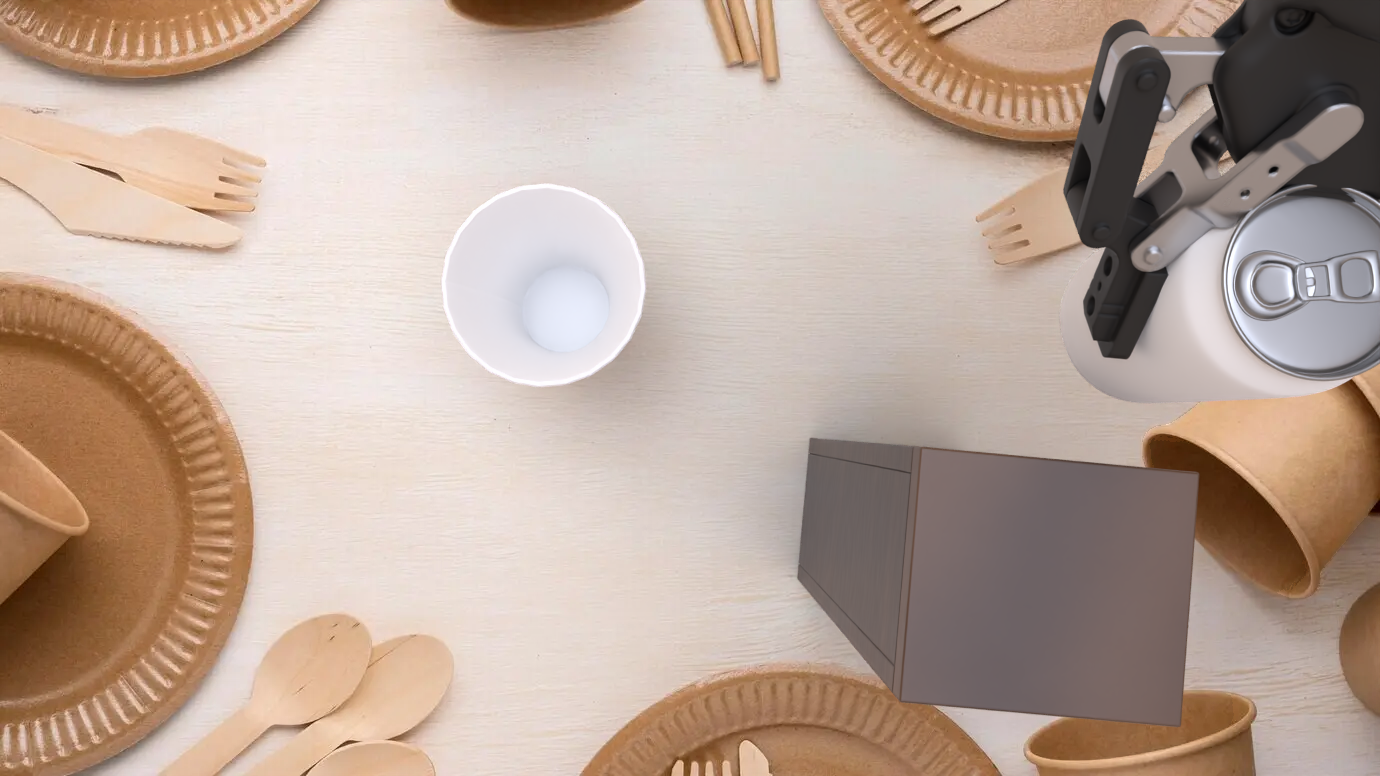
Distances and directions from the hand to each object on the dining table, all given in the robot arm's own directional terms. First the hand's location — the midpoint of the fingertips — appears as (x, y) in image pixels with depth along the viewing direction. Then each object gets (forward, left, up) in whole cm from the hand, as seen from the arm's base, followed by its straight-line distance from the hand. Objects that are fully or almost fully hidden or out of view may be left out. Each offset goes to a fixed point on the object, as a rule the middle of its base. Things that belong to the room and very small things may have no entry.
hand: (1214, 352), depth 35 cm
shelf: (+4, +9, -3) cm, 10 cm away
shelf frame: (+4, +9, -32) cm, 34 cm away
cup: (+25, -2, -33) cm, 41 cm away
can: (0, -2, -6) cm, 7 cm away
